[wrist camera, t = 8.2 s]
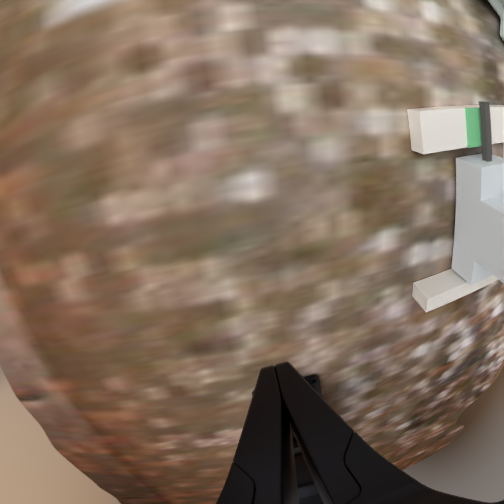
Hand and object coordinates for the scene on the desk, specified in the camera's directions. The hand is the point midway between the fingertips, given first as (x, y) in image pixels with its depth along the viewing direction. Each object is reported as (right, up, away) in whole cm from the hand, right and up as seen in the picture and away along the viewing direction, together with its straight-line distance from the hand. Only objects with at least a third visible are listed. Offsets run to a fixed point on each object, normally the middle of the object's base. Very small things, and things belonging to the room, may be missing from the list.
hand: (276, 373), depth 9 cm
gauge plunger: (+17, +9, +12) cm, 23 cm away
